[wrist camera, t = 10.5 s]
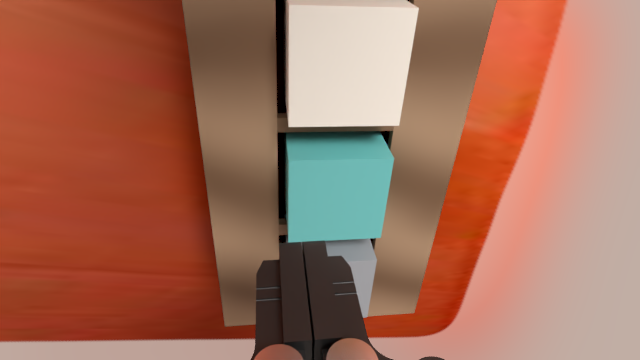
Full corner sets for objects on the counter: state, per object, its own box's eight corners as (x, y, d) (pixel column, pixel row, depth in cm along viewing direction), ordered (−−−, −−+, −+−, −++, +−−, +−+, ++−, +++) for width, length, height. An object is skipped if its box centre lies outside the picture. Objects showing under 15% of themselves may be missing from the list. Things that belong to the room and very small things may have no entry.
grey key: (284, 214, 23) (288, 264, 20) (361, 211, 24) (376, 260, 21) (284, 269, 26) (287, 322, 23) (354, 266, 26) (367, 317, 23)
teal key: (284, 119, 20) (288, 160, 17) (372, 118, 21) (394, 158, 17) (284, 193, 23) (288, 242, 19) (363, 190, 23) (380, 238, 20)
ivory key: (283, -15, 17) (288, 4, 14) (388, -11, 17) (418, 7, 14) (283, 89, 19) (288, 126, 16) (376, 89, 20) (398, 125, 17)
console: (192, -85, 17) (171, -83, 13) (459, -72, 19) (514, -66, 15) (230, 266, 29) (225, 326, 25) (393, 258, 30) (414, 313, 26)
